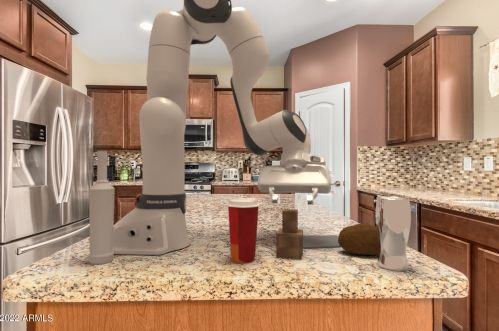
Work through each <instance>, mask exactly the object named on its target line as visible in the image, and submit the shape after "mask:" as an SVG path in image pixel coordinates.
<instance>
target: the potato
mask: <svg viewBox="0 0 499 331" xmlns="http://www.w3.org/2000/svg"><path fill="white" fill-rule="evenodd" d="M337 236H338V243H339V245H340V246H341V247H340V248H342V250H344V251H345V252H348V253H350V254H354V255H367V256H368V255H369V256H375V255H379V251H380V247H379V239H378V234H377V228H376V226H375V225H373V224H370V223H367V222H359V223H356V224H353V225H348V226H346V227H343V228H342V229H341V230H340V231H339V234H338V235H337Z"/></svg>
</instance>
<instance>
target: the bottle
mask: <svg viewBox="0 0 499 331" xmlns="http://www.w3.org/2000/svg"><path fill="white" fill-rule="evenodd" d="M96 152H97V153H96V154H97V156H96V159H97V172H96V174H97V176H96V179H97V180H96V181H95V183H94V184H93V185H92V186H91V187H89V189H88V190H89V191H88V195H89V196H88V199H89V200H88V201H89V204H88V205H89V207H88V210H89V211H88V212H89V254H88V261H89V264H91V265H103V264H104V265H105V264H108V263H111V262H113V260H114V257H115V254H114V251H113V227H114V225H115V224H114V223H115V222H114V219H115V215H114V214H115V190H116V188H115V187H114V186H113V185H111V183H110V181H109V180H108V151H107V150H97V151H96Z"/></svg>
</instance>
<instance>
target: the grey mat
mask: <svg viewBox="0 0 499 331" xmlns="http://www.w3.org/2000/svg"><path fill="white" fill-rule="evenodd" d="M338 236H339V235H337V234H333V235H332V234H330V235H303V250H304V249H322V248H323V249H327V248H328V249H330V248H342V247H341V246H340V245H339V243H338Z"/></svg>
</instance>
